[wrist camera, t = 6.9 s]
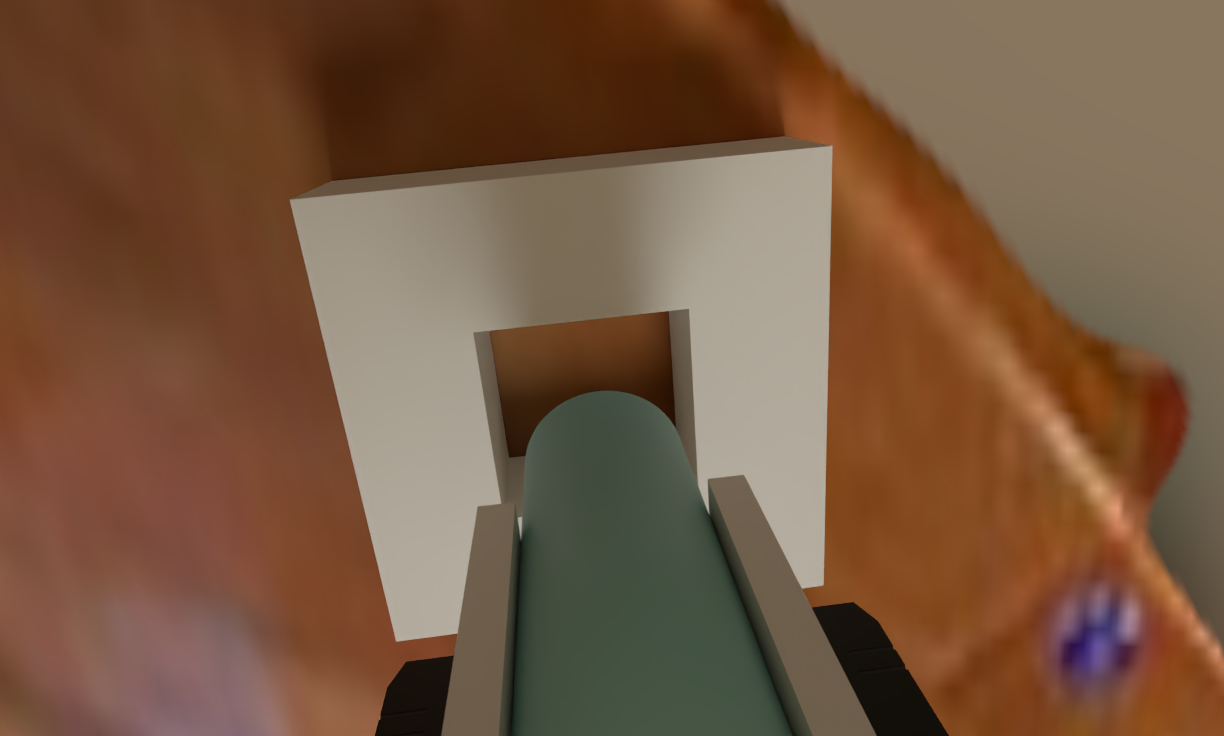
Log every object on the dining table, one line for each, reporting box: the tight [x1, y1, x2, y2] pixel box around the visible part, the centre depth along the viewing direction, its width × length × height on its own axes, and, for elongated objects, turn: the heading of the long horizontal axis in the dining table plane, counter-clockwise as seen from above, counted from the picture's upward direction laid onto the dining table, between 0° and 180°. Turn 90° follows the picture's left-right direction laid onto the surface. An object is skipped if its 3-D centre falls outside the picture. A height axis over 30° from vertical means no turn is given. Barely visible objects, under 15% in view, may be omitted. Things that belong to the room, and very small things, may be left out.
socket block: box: [290, 136, 832, 641], centre depth 23 cm, size 14×14×4 cm
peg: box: [511, 391, 793, 736], centre depth 12 cm, size 4×4×15 cm
